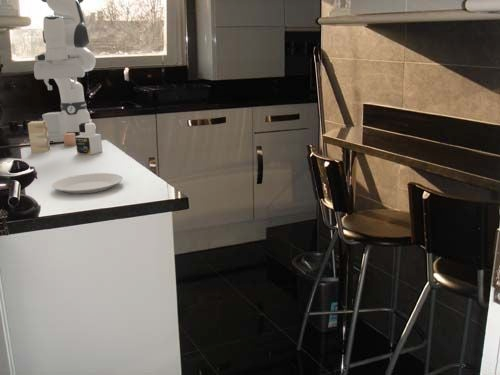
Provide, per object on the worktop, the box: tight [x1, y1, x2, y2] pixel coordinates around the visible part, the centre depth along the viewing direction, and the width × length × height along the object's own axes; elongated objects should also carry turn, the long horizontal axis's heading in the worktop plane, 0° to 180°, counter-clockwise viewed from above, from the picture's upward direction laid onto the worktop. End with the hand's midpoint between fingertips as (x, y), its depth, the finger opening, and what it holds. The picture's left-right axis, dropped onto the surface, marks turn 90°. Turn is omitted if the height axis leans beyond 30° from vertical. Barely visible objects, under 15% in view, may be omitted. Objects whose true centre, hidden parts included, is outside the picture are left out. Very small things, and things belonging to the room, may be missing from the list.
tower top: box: [27, 120, 48, 134], centre depth 240 cm, size 6×6×4 cm
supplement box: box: [41, 111, 68, 143], centre depth 264 cm, size 7×7×13 cm
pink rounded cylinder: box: [63, 132, 76, 148], centre depth 252 cm, size 5×5×5 cm
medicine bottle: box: [75, 121, 103, 156], centre depth 232 cm, size 7×7×12 cm
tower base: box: [29, 140, 51, 154], centre depth 242 cm, size 6×6×4 cm
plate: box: [51, 172, 124, 195], centre depth 179 cm, size 21×21×2 cm
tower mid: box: [28, 130, 49, 144], centre depth 241 cm, size 6×6×4 cm
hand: (61, 89), depth 247 cm, fingers open, 8 cm apart
